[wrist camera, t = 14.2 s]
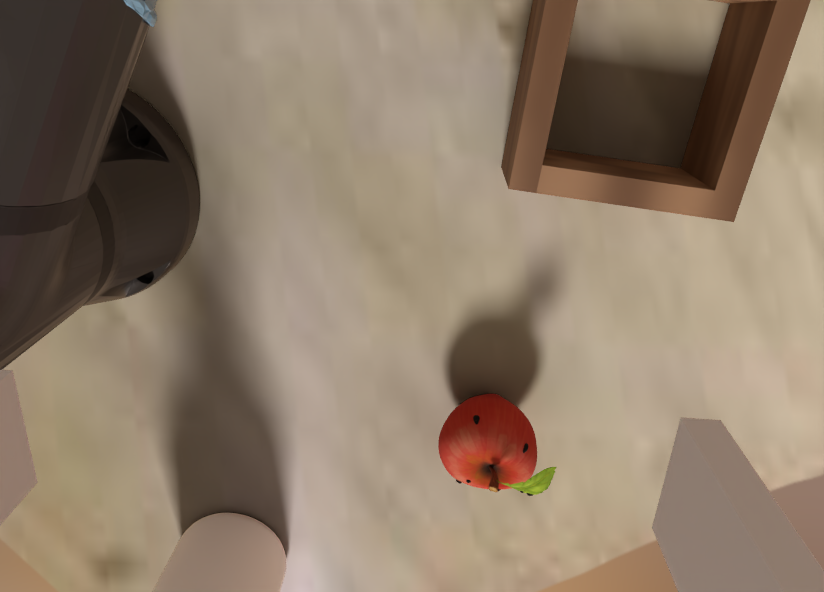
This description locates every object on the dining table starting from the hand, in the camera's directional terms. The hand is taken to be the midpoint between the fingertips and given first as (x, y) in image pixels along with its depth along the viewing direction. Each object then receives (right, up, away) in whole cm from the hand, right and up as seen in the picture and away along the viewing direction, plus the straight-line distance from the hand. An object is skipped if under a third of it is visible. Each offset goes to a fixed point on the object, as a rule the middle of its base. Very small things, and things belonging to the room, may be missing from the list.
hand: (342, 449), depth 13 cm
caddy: (+15, +16, +27) cm, 35 cm away
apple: (+7, -6, +37) cm, 38 cm away
